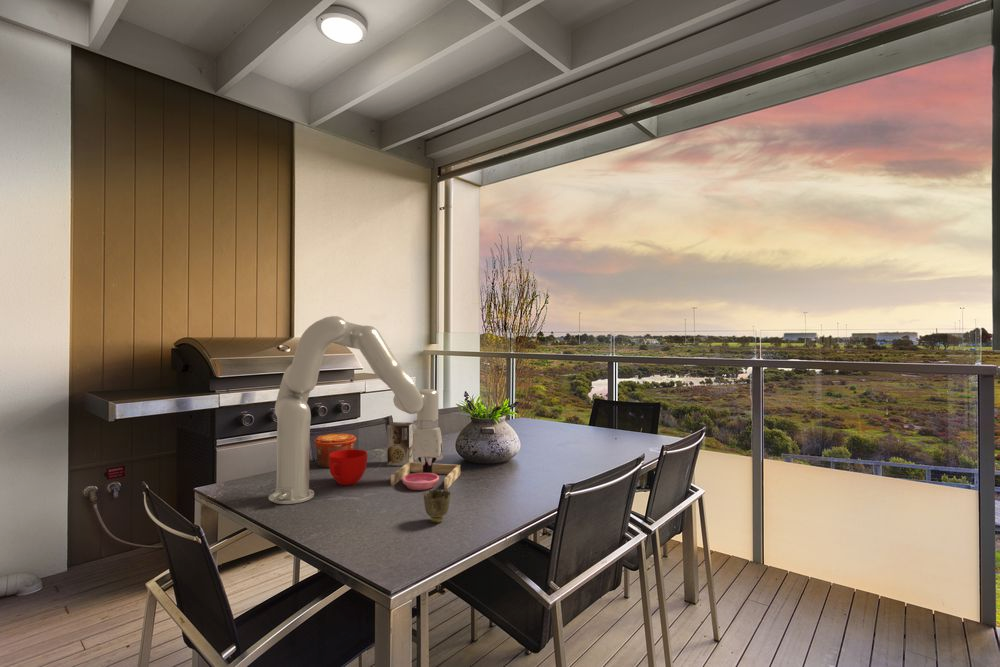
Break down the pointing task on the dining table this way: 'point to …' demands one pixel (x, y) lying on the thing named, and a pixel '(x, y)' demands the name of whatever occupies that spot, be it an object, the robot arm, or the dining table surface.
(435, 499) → the cup
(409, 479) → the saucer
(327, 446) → the food container
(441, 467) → the oak cubby
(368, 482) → the dining table surface
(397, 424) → the coffee box
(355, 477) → the ceramic cup
